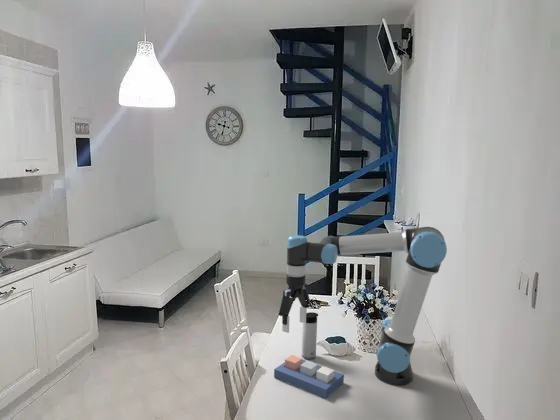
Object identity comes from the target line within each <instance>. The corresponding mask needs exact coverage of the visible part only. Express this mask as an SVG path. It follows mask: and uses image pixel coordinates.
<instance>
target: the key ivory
mask: <svg viewBox="0 0 560 420" xmlns="http://www.w3.org/2000/svg"><path fill="white" fill-rule="evenodd" d="M334 371H335V370H334V369H332V368H329V367H326V366H324V365H323V366H322V367H321V368H320V369H319V370H317V373H316V379H317V380H319V381H322V382H325V383H327V384H328V383H329V382H331V381H332V380H333V379H334Z"/></svg>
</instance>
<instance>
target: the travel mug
mask: <svg viewBox="0 0 560 420" xmlns="http://www.w3.org/2000/svg"><path fill="white" fill-rule="evenodd" d="M318 317H319V313H316V312H311V311H310V312H306V323H302V336H301V338H302V340H301V341H302V342H301V343H302V344H301V358H302V359H303V360H307V361H309V360H314V359H315V358H316V357H317V333H318V331H317V329H318Z"/></svg>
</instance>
